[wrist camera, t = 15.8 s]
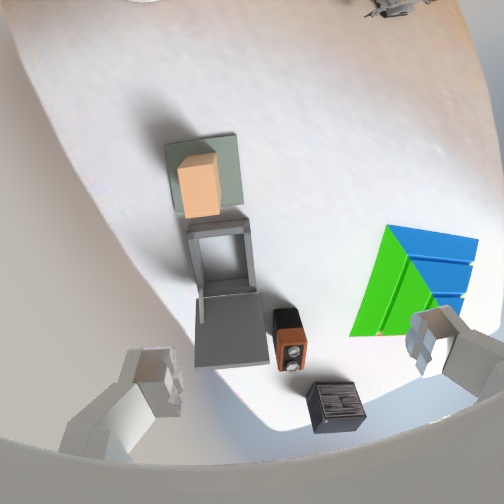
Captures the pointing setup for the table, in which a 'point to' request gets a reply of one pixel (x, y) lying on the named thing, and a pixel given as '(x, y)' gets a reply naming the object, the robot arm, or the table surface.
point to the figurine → (396, 7)
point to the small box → (334, 407)
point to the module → (200, 185)
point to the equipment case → (227, 307)
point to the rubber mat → (226, 166)
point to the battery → (289, 340)
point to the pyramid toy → (414, 279)
